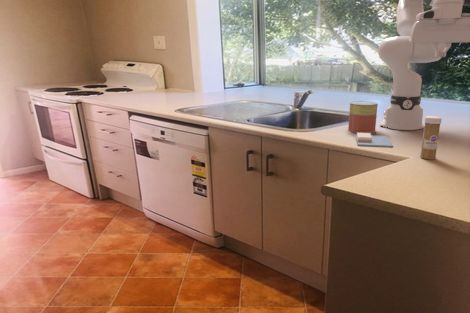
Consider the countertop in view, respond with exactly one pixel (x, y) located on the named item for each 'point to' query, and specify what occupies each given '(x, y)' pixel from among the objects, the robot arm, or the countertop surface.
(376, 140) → the mat
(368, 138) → the tile
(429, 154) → the sprinkles bottle
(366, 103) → the canned food
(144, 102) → the countertop surface
